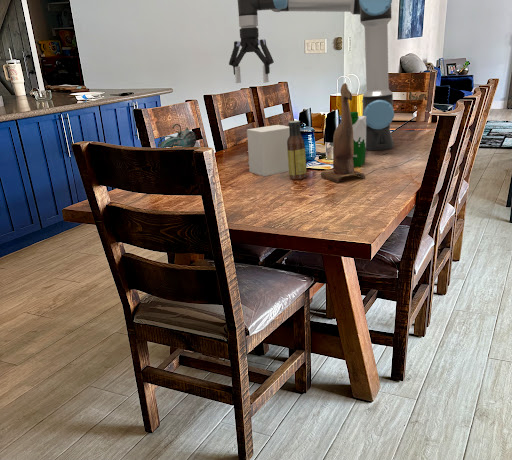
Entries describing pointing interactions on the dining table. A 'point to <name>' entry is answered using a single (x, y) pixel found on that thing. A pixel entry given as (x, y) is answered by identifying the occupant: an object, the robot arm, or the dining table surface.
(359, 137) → the milk carton
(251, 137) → the light grey upright box
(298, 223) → the dining table surface
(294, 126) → the sauce bottle
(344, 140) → the bird sculpture
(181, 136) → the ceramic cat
